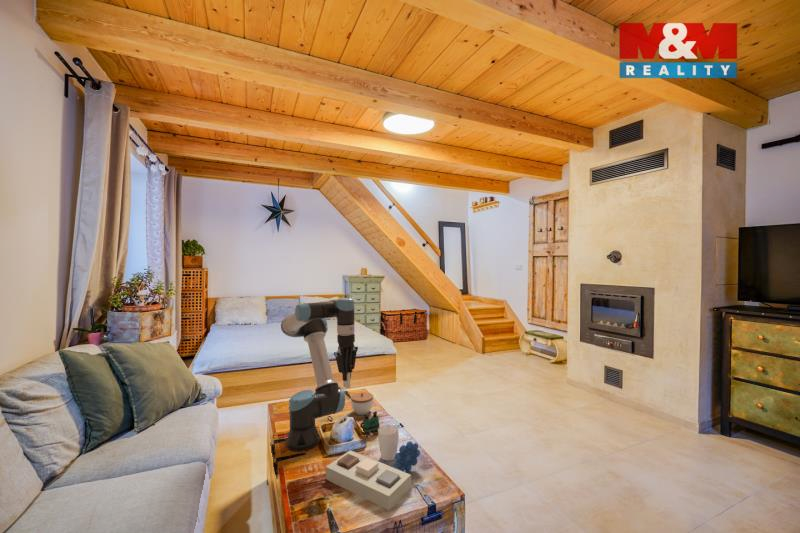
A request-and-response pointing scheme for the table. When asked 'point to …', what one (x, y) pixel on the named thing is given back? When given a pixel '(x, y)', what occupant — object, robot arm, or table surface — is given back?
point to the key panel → (369, 482)
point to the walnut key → (348, 461)
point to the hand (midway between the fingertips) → (346, 386)
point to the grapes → (407, 457)
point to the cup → (388, 441)
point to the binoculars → (370, 424)
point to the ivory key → (367, 468)
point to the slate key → (388, 478)
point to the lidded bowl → (362, 402)
